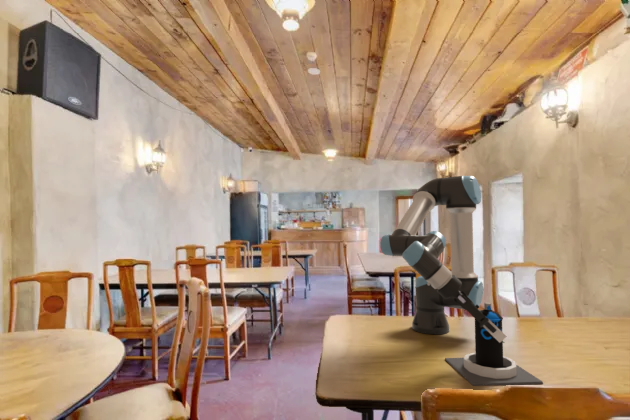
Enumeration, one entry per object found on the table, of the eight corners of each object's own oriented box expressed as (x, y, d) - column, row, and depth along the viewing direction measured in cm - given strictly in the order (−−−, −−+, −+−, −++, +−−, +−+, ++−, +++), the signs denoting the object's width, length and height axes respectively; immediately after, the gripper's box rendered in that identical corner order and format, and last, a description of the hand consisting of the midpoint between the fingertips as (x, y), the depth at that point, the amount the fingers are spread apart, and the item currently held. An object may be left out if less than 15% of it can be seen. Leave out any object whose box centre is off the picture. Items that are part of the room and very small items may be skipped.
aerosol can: (469, 364, 118) (468, 300, 119) (494, 363, 119) (493, 300, 120) (483, 374, 110) (482, 306, 111) (510, 373, 111) (508, 305, 112)
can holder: (473, 385, 104) (472, 374, 104) (445, 359, 124) (444, 350, 124) (542, 383, 105) (542, 372, 105) (503, 358, 125) (503, 349, 125)
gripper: (432, 284, 131) (479, 329, 127) (440, 297, 107) (498, 354, 103) (447, 269, 130) (495, 314, 126) (459, 279, 106) (518, 336, 102)
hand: (497, 332), depth 115 cm, fingers open, 13 cm apart
